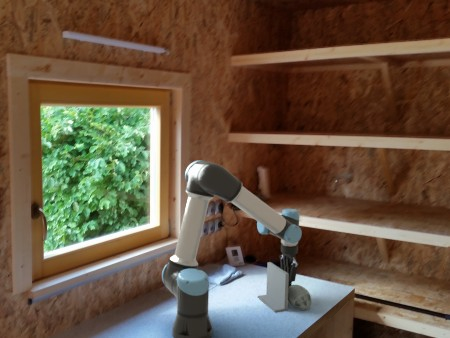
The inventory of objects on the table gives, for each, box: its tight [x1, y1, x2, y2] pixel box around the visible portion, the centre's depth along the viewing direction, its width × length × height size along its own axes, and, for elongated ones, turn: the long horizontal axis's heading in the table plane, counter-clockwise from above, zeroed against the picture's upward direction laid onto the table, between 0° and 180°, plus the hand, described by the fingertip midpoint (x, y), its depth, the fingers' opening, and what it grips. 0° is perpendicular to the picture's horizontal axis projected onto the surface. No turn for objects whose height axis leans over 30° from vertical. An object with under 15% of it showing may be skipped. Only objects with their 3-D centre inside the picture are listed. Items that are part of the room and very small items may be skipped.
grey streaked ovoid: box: [288, 284, 312, 311], centre depth 201 cm, size 14×10×10 cm
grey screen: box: [257, 261, 289, 313], centre depth 201 cm, size 6×16×16 cm, turn 23°
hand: (287, 294), depth 209 cm, fingers closed
